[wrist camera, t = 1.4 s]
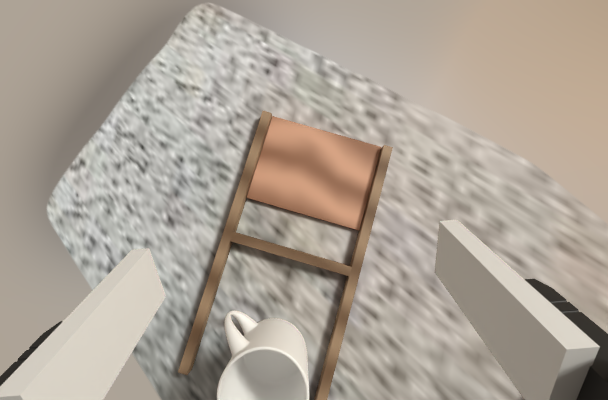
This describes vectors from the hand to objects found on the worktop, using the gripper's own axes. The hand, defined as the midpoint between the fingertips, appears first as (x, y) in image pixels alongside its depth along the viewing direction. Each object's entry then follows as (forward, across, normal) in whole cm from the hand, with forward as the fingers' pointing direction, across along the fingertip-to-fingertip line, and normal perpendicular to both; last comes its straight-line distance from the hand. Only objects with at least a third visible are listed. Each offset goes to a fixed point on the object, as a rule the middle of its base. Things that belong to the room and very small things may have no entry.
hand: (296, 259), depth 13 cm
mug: (+17, +6, +23) cm, 29 cm away
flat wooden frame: (+22, +2, +14) cm, 26 cm away
